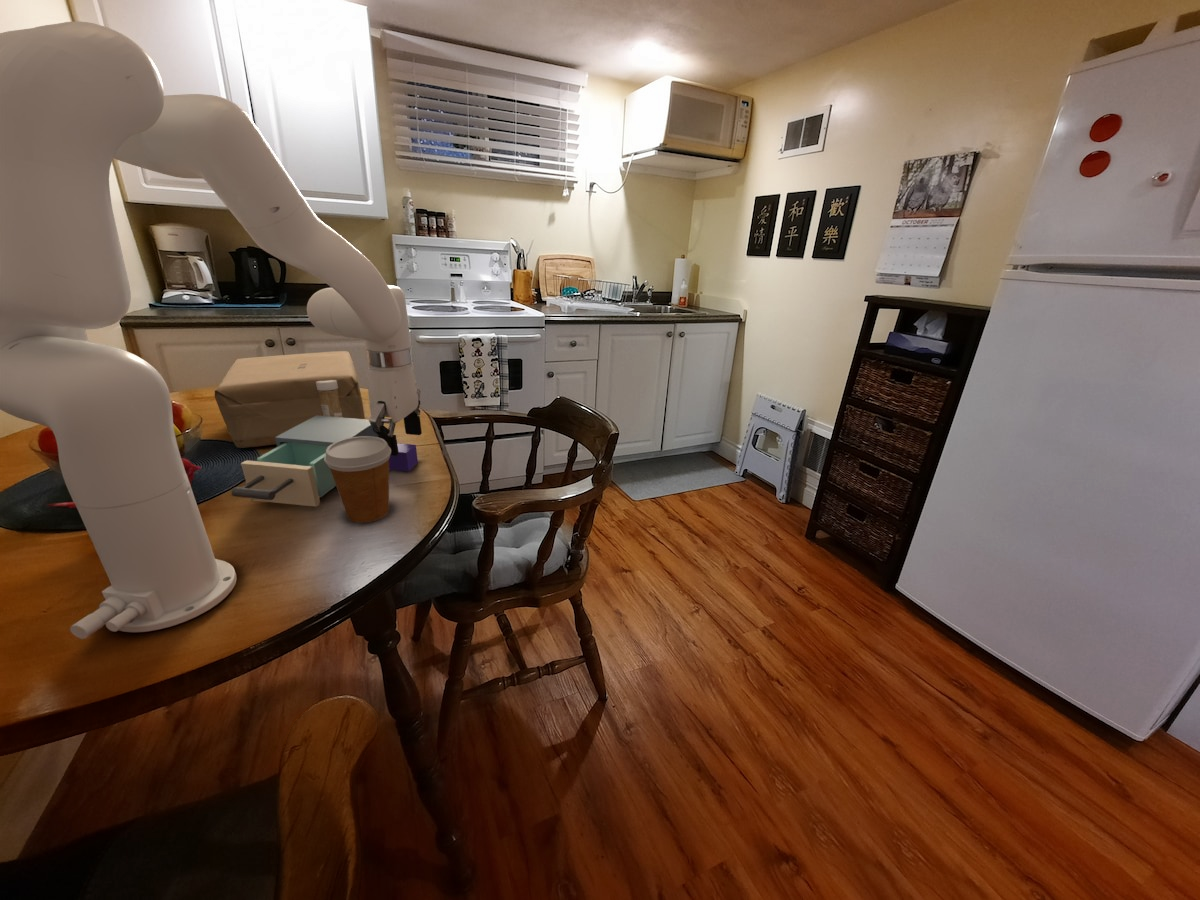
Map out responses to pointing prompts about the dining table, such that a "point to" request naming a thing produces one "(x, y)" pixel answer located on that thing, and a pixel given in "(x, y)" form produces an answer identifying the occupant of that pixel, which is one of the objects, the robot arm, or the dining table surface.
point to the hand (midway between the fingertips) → (402, 443)
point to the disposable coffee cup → (361, 476)
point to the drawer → (288, 475)
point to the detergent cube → (404, 458)
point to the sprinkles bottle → (329, 398)
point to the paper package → (283, 394)
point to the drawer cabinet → (326, 431)
